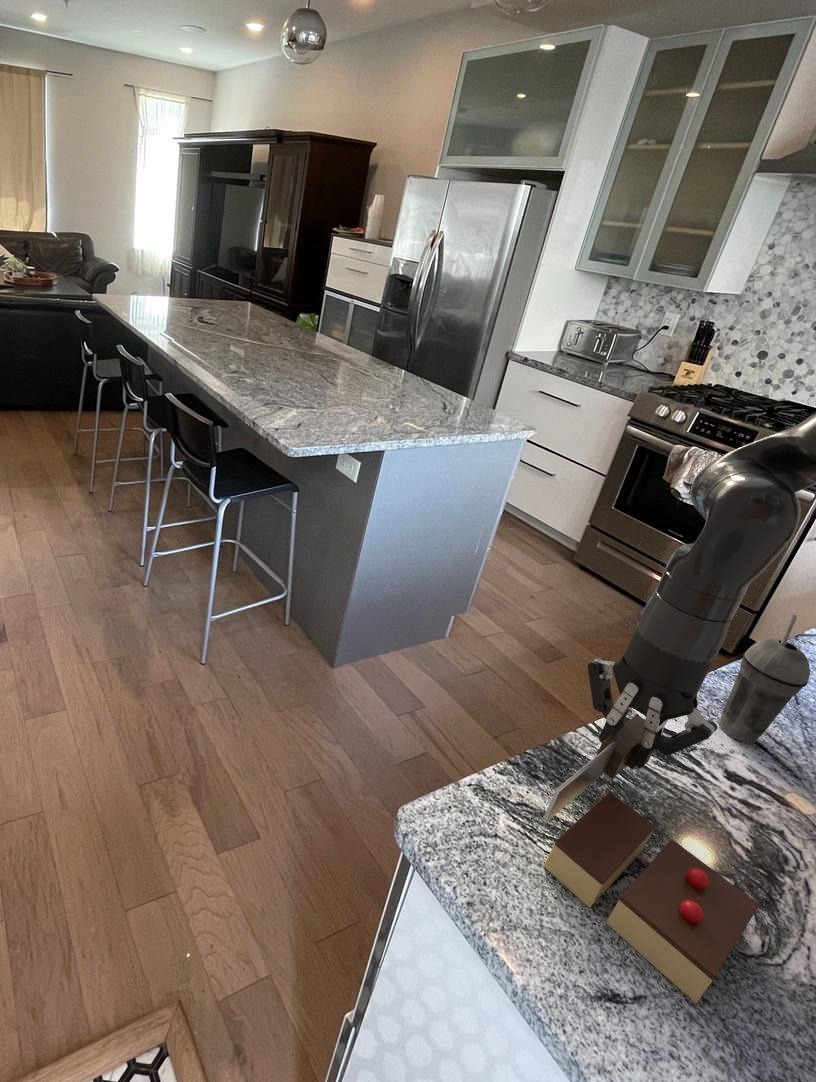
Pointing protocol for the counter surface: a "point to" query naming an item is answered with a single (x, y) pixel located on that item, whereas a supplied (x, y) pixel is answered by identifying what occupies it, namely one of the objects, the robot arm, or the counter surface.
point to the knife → (599, 764)
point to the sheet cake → (682, 918)
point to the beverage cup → (764, 687)
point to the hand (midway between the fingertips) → (619, 755)
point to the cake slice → (598, 848)
